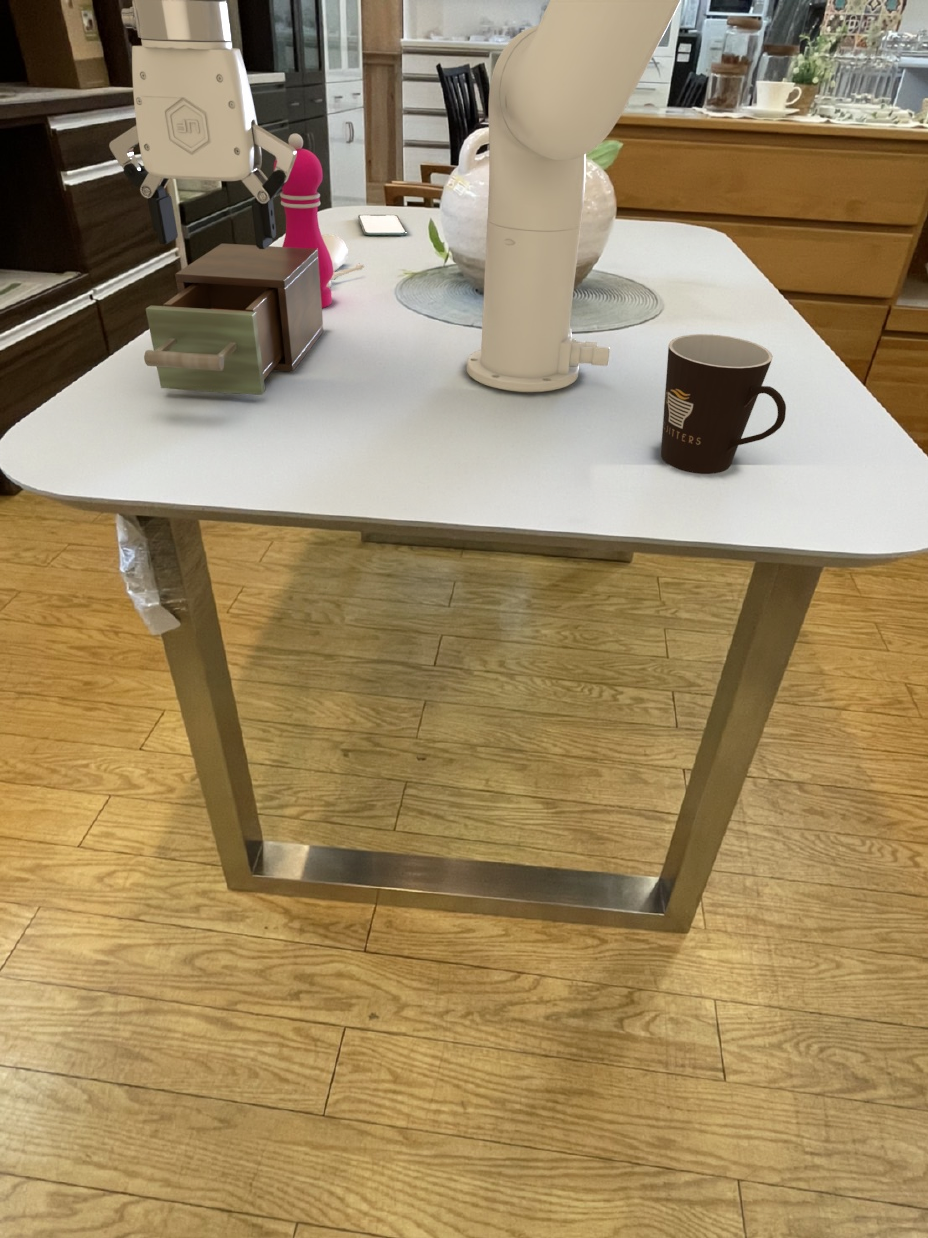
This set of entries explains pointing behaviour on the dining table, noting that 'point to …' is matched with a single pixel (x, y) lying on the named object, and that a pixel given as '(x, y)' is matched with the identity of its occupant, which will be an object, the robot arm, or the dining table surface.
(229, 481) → the dining table surface
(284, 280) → the cabinet
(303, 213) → the pepper mill
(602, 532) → the dining table surface
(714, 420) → the coffee mug
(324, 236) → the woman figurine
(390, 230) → the smartphone
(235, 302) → the drawer
